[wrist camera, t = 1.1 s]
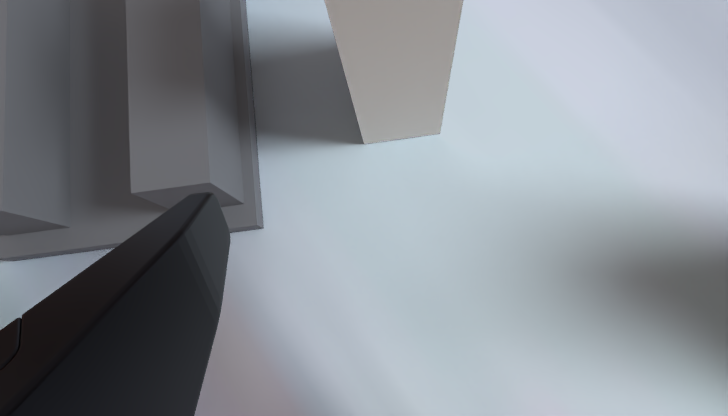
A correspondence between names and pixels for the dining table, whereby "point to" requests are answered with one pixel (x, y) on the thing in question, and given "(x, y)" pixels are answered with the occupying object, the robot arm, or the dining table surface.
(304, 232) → the dining table surface
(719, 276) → the dining table surface
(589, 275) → the dining table surface
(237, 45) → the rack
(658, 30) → the dining table surface
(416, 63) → the grey block
